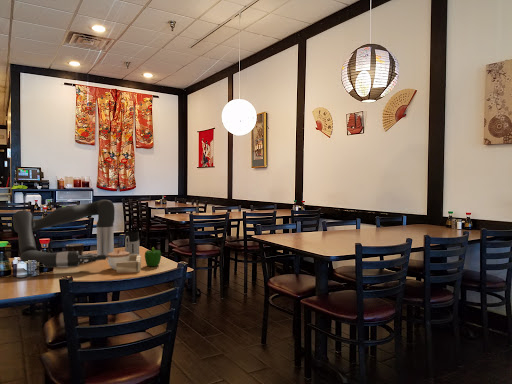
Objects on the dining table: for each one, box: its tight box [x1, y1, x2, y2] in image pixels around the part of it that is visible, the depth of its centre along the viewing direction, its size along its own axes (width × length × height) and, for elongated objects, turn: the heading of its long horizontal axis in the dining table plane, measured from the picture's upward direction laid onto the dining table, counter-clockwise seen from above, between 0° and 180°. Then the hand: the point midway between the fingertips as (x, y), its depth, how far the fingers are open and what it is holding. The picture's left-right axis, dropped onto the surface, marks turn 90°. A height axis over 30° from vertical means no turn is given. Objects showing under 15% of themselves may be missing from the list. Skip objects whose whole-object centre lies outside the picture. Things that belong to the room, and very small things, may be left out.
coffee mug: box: [65, 243, 85, 265], centre depth 203 cm, size 12×9×10 cm
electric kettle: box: [124, 230, 140, 255], centre depth 216 cm, size 9×14×15 cm, turn 178°
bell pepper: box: [144, 246, 162, 267], centre depth 198 cm, size 8×8×10 cm
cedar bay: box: [115, 253, 142, 274], centre depth 193 cm, size 20×11×5 cm, turn 16°
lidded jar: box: [106, 249, 130, 271], centre depth 192 cm, size 11×11×9 cm
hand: (106, 257), depth 189 cm, fingers closed
